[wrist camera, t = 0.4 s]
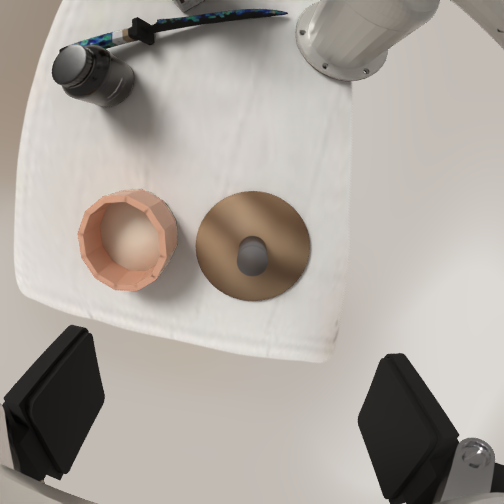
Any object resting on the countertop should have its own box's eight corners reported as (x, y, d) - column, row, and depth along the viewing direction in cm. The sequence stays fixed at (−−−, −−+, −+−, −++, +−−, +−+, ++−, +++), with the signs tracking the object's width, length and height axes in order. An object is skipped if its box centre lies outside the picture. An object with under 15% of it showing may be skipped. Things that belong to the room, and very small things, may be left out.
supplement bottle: (133, 104, 36) (90, 90, 24) (90, 109, 36) (40, 100, 24) (138, 58, 34) (99, 30, 22) (95, 65, 33) (48, 44, 22)
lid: (230, 169, 39) (226, 172, 33) (329, 227, 41) (340, 238, 35) (179, 266, 43) (168, 283, 37) (272, 314, 45) (274, 336, 39)
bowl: (117, 174, 38) (97, 178, 33) (192, 215, 40) (182, 225, 34) (89, 248, 42) (69, 261, 36) (157, 287, 43) (144, 306, 38)
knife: (70, 65, 32) (56, 57, 28) (71, 47, 31) (57, 38, 27) (285, 36, 34) (292, 24, 30) (283, 18, 33) (290, 5, 29)
